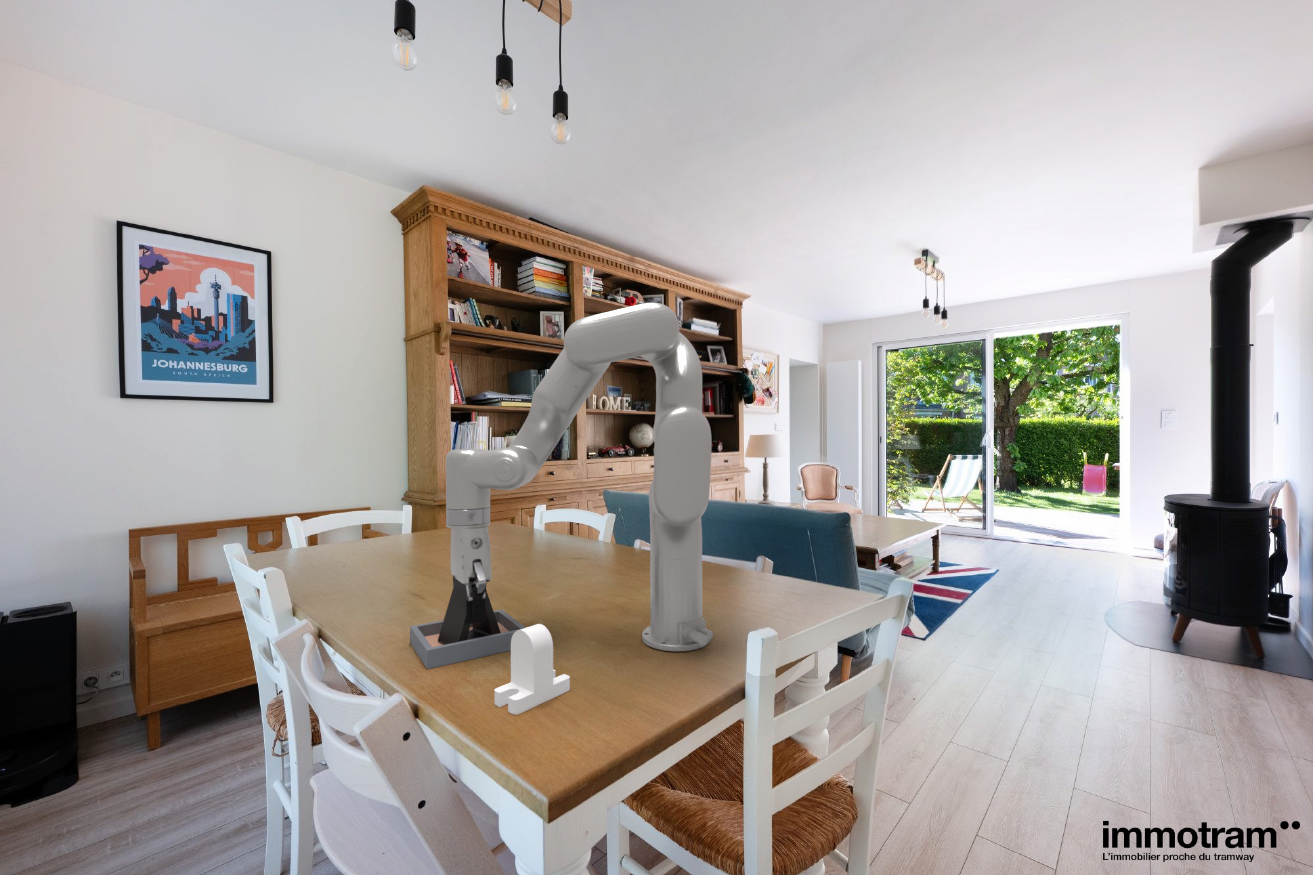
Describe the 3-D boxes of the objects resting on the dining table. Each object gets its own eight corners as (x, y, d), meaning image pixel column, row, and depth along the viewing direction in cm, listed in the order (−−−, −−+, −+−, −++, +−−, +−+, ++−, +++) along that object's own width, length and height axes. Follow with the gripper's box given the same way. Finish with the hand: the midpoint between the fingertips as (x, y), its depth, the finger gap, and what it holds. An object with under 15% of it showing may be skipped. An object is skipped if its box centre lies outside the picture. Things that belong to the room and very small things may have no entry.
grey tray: (528, 646, 98) (528, 629, 98) (427, 669, 88) (427, 650, 88) (502, 624, 109) (502, 609, 109) (410, 642, 100) (410, 626, 100)
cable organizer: (492, 703, 77) (492, 632, 77) (548, 679, 84) (548, 614, 84) (515, 715, 73) (515, 640, 73) (571, 689, 81) (571, 621, 81)
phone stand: (481, 628, 104) (481, 565, 104) (501, 635, 100) (500, 569, 100) (437, 642, 97) (437, 574, 97) (456, 650, 93) (456, 579, 93)
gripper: (505, 521, 94) (506, 625, 94) (475, 510, 108) (476, 601, 108) (460, 525, 90) (460, 634, 90) (435, 514, 104) (435, 607, 104)
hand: (469, 615), depth 99 cm, fingers open, 7 cm apart
